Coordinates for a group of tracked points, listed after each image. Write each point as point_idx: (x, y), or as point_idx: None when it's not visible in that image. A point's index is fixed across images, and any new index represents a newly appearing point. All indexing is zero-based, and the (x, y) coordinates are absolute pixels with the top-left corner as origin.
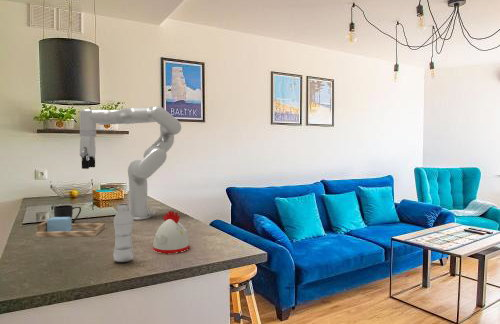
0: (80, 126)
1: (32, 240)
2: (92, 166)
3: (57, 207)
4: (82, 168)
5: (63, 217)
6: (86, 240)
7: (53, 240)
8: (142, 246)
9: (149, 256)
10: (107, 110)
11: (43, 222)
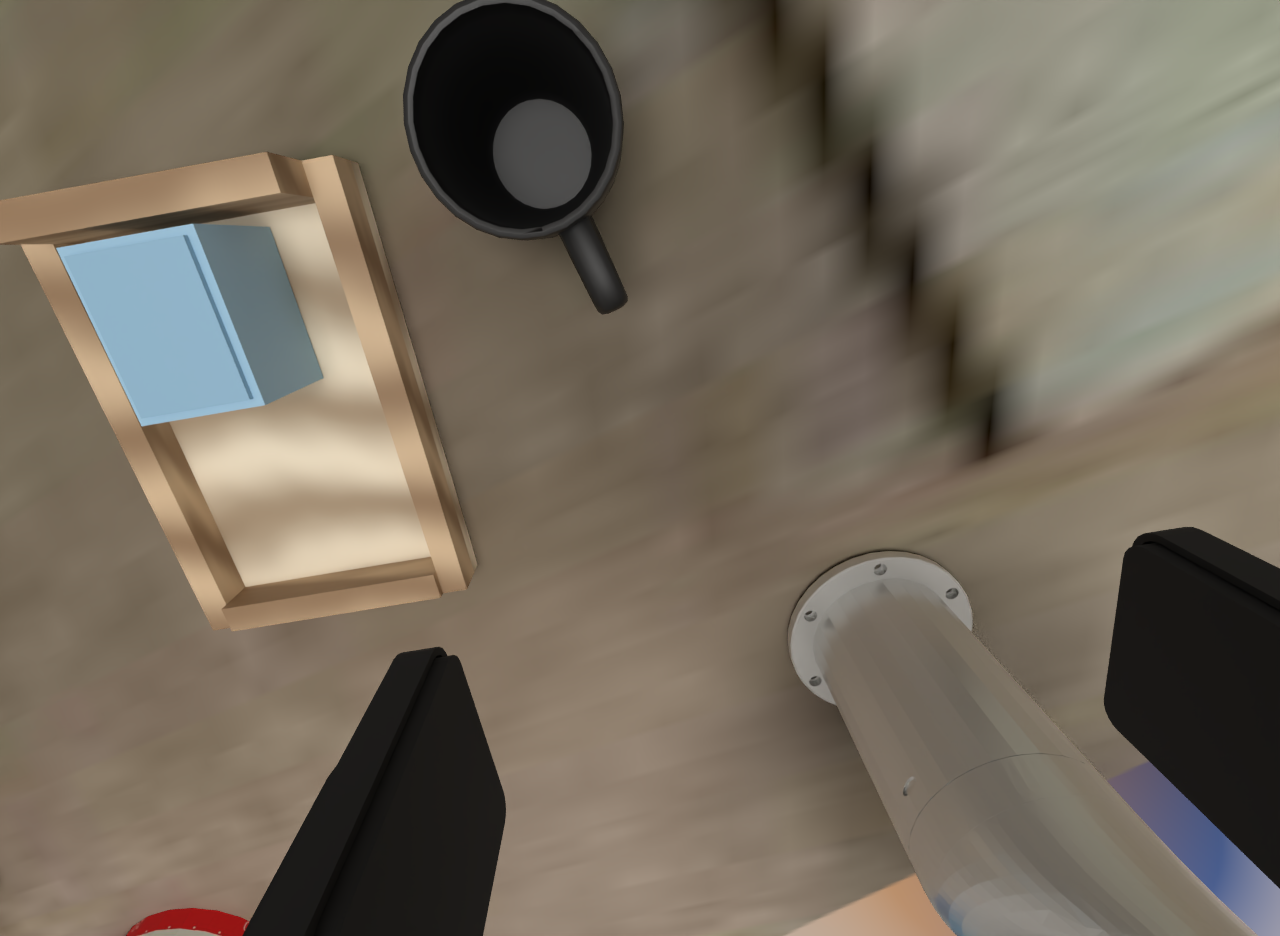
0: None
1: None
2: (1128, 675)
3: (535, 15)
4: (407, 667)
5: (202, 352)
6: None
7: None
8: (192, 862)
9: (66, 925)
10: None
11: (77, 197)
